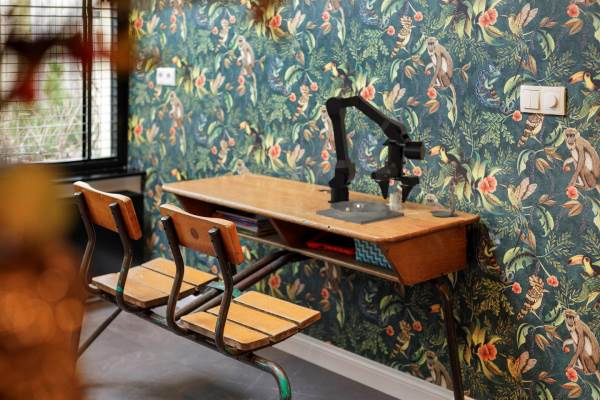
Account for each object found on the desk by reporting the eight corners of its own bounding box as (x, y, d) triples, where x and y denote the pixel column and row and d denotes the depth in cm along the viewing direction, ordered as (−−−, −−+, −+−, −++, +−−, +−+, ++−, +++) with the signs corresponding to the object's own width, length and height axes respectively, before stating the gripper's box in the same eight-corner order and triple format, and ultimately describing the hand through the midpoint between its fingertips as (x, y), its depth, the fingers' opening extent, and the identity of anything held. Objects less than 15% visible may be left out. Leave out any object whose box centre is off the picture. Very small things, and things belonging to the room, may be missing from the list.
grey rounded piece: (428, 215, 279) (429, 186, 277) (445, 212, 284) (446, 184, 282) (444, 219, 272) (446, 190, 270) (462, 216, 277) (463, 188, 275)
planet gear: (383, 208, 290) (383, 193, 289) (393, 206, 294) (393, 191, 293) (394, 210, 286) (395, 195, 285) (404, 208, 290) (405, 193, 289)
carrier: (316, 214, 279) (316, 205, 278) (358, 206, 293) (358, 197, 292) (361, 224, 263) (361, 215, 262) (403, 215, 277) (404, 206, 277)
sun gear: (350, 211, 278) (350, 203, 277) (359, 210, 281) (359, 201, 280) (360, 214, 274) (360, 205, 274) (369, 212, 278) (369, 203, 277)
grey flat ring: (318, 211, 278) (318, 205, 278) (358, 203, 292) (359, 198, 292) (361, 221, 263) (361, 215, 263) (401, 212, 277) (402, 207, 277)
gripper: (361, 157, 288) (360, 200, 291) (400, 163, 274) (399, 208, 277) (381, 155, 295) (380, 196, 298) (421, 160, 282) (419, 204, 285)
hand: (394, 201), depth 289 cm, fingers open, 8 cm apart
